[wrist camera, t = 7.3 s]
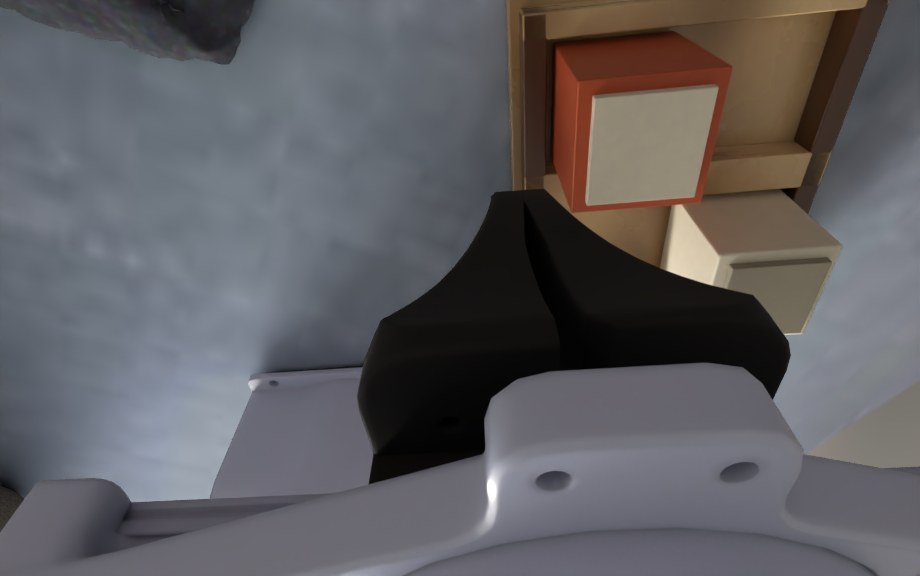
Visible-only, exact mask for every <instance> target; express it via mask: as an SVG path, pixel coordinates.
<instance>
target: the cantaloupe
mask: <svg viewBox="0 0 920 576" xmlns="http://www.w3.org/2000/svg"><path fill="white" fill-rule="evenodd" d="M23 500H24V498H23V497H22V496H20V495H19V494H18V493H16V492H15V491H13V490H10V489H8V488H4V487H1V486H0V532H1V531H2V529H3V528H4V527H5V525H6V524H7V522H8V521H9V520H10V518H11V517H12V516H13V514H14V513H15V511H16V510H17V509H18V507H19V506H20V505H21V503H22V502H23Z"/></svg>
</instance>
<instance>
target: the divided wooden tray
mask: <svg viewBox="0 0 920 576" xmlns="http://www.w3.org/2000/svg"><path fill="white" fill-rule="evenodd" d="M889 3H890V0H506V17H507V50H508V83H509V116H510V149H511V182H512V191H518V190H531V189H545V190H546V191H547V192H548V193H549V194H550V195H552V196H553V197H554V198H555V199H556V200H557V201H558V202H559V203H560V204H561V205H562V206H563V207H564V208H565V209H566V210H567V211H568V212H570V213H571V211H570V208H569V205H568V202H567V200H566V197H565V194H564V191H563V188H562V186H561V183H560V180H559V177H558V174H557V172H556V169H555V166H554V163H553V160H552V158H551V109H552V63H553V43H555V42H565V41H575V40H585V39H595V38H605V37H615V36H625V35H636V34H646V33H656V32H666V31H675V32H677V33H678V34H680V35H682V36H683V37H685V38H687V39H688V40H690V41H692V42H693V43H695V44H697V45H698V46H700V47H702V48H703V49H705V50H707V51H708V52H710V53H712V54H713V55H715V56H717V57H718V58H720V59H722V60H723V61H725V62H727V63H728V64H730V65H732V66H733V69H732V73H731V77H730V82H729V86H728V90H727V95H726V99H725V103H724V108H723V112H722V116H721V120H720V125H719V129H718V133H717V138H716V142H715V146H714V151H713V155H712V159H711V164H710V168H709V172H708V176H707V181H706V185H705V189H704V194H703V195H709V194H721V193H734V192H746V191H758V190H771V189H780V190H781V191H783V192H784V193H785V194H786V195H787V196H788V197H789V198H790V199H791V200H793V201H794V202H795V203H796V204H797V205H798V206H799V207H800V208H801V209H803V210H804V211H805V212H806V213H807V214H808V212H809V209H810V207H811V204H812V201H813V199H814V196H815V194H816V191H817V189H818V186H819V184H820V182H821V179H822V177H823V174H824V171H825V169H826V166H827V164H828V161H829V158H830V156H831V153H832V150H833V147H834V144H835V142H836V139H837V137H838V134H839V131H840V129H841V126H842V124H843V121H844V119H845V116H846V113H847V111H848V108H849V106H850V103H851V100H852V98H853V95H854V93H855V90H856V87H857V85H858V82H859V80H860V77H861V74H862V72H863V69H864V67H865V64H866V61H867V59H868V56H869V54H870V51H871V49H872V46H873V43H874V41H875V38H876V36H877V33H878V30H879V28H880V25H881V23H882V20H883V17H884V15H885V12H886V10H887V7H888V4H889ZM671 206H672V205H668V206H656V207H643V208H631V209H618V210H606V211H593V212H581V213H571V214H572V215H573V216H574V217H575V218H577V219H578V220H579V221H580V222H581V223H583V224H584V225H585V226H587V227H588V228H589V229H591V230H592V231H593V232H595V233H596V234H598V235H599V236H600V237H602V238H603V239H605V240H606V241H608V242H609V243H611V244H613V245H614V246H616V247H618V248H620V249H622V250H623V251H625V252H627V253H629V254H630V255H632V256H634V257H636V258H639V259H641V260H643V261H645V262H647V263H650V264H652V265H654V266H656V267H659V268H660V264H661V259H662V253H663V248H664V243H665V238H666V233H667V227H668V222H669V217H670V212H671Z"/></svg>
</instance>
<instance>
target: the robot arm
mask: <svg viewBox="0 0 920 576" xmlns="http://www.w3.org/2000/svg"><path fill="white" fill-rule="evenodd" d="M790 356H791V355H790V348H789V342H788V340H787V339H786V337H785V336H784V334H783V333H782V332H781V330H780V329H779V327H778V326H777V324H776V323H775V322H774V320H773V319H772V317H771V316H770V314H769V313H768V312H767V311H766V309H765V308H764V307H763V306H762V304H761V303H760V302H759V301H758V300H757V299H756V298H755V297H754V295H751V294H747V293H742V292H738V291H734V290H730V289H725V288H721V287H717V286H713V285H709V284H705V283H702V282H698V281H695V280H692V279H689V278H686V277H683V276H680V275H677V274H674V273H672V272H669V271H666V270H664V269H661V268H659V267H656V266H654V265H652V264H650V263H647V262H645V261H643V260H641V259H639V258H636V257H634V256H632V255H630V254H629V253H627V252H625V251H623V250H622V249H620V248H618V247H616V246H614V245H613V244H611V243H609V242H608V241H606V240H605V239H603V238H602V237H600V236H599V235H598V234H596V233H595V232H593V231H592V230H591V229H589V228H588V227H587V226H585V225H584V224H583V223H581V222H580V221H579V220H578V219H577V218H575V217H574V216H573V215H572V214H571V213H570V212H568V211H567V210H566V209H565V208H564V207H563V206H562V205H561V204H560V203H559V202H558V201H557V200H556V199H555V198H554V197H553V196H552V195H550V194H549V193H548V192H547V191H546V190H545V189H531V190H518V191H505V192H495V193H494V194H493V195H492V196H491V202H490V206H489V209H488V212H487V214H486V217H485V219H484V221H483V223H482V225H481V227H480V229H479V231H478V233H477V235H476V236H475V238H474V240H473V241H472V243H471V245H470V246H469V248H468V249H467V251H466V252H465V253H464V255H463V256H462V257H461V259H460V260H459V261H458V262H457V264H456V265H455V266H454V267H453V268H452V270H451V271H450V272H449V273H448V274H447V275H446V276H445V277H444V278H443V279H442V280H441V281H440V282H439V283H438V284H437V285H435V286H434V287H433V288H432V289H430V290H429V291H428V292H427V293H425V294H424V295H422V296H421V297H419V298H418V299H417V300H415V301H414V302H412V303H411V304H409V305H407V306H405V307H404V308H402V309H400V310H398V311H397V312H395V313H393V314H391V315H390V316H388V317H386V318H384V319H382V320H381V321H380V323H379V325H378V327H377V330H376V332H375V334H374V337H373V339H372V341H371V344H370V347H369V349H368V352H367V354H366V357H365V361H364V364H363V367H357V368H342V369H326V370H311V371H295V372H279V373H264V374H254V375H252V376H250V379H249V381H248V385H249V387H250V388H251V390H252V394H251V396H250V399H249V401H248V403H247V406H246V408H245V411H244V413H243V415H242V418H241V420H240V422H239V425H238V427H237V429H236V432H235V434H234V437H233V439H232V441H231V444H230V446H229V448H228V451H227V453H226V455H225V458H224V460H223V462H222V465H221V467H220V470H219V472H218V474H217V477H216V479H215V482H214V485H213V488H212V492H211V495H210V499H197V500H175V501H153V502H131V501H130V499H129V498H128V496H127V495H126V493H125V492H124V491H123V490H122V489H121V488H120V487H119V486H118V485H116V484H115V483H113V482H111V481H108V480H105V479H97V478H86V479H65V480H44V481H40V482H37V483H36V484H35V485H34V487H33V488H32V489H31V491H30V492H29V494H28V495H27V496H26V498H25V499H24V500H23V502H22V503H21V505H20V506H19V507H18V509H17V510H16V511H15V513H14V514H13V516H12V517H11V518H10V520H9V521H8V522H7V524H6V525H5V527H4V528H3V529H2V531H1V532H0V576H920V467H901V468H877V467H872V466H866V465H860V464H855V463H850V462H844V461H839V460H833V459H827V458H822V457H816V456H811V455H805V454H803V448H802V446H801V445H800V443H799V442H798V440H797V438H796V437H795V435H794V434H793V432H792V430H791V429H790V427H789V426H788V424H787V422H786V421H785V419H784V418H783V416H782V414H781V413H780V411H779V410H778V408H777V406H776V405H775V403H774V402H773V398H774V396H775V394H776V392H777V390H778V388H779V385H780V383H781V381H782V379H783V377H784V375H785V373H786V370H787V367H788V363H789V360H790Z"/></svg>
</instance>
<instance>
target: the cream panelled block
mask: <svg viewBox="0 0 920 576" xmlns="http://www.w3.org/2000/svg"><path fill="white" fill-rule="evenodd" d="M841 249H842V244H840V243H839V242H838V241H837V240H836V239H835V238H834V237H833V236H832V235H830V234H829V233H828V232H827V231H826V230H825V229H824V228H823V227H822V226H820V225H819V224H818V223H817V222H816V221H815V220H814V219H813V218H812V217H810V216H809V215H808V214H807V213H806V212H805V211H804V210H803V209H801V208H800V207H799V206H798V205H797V204H796V203H795V202H794V201H793V200H791V199H790V198H789V197H788V196H787V195H786V194H785V193H784V192H783V191H781V190H780V189H771V190H758V191H746V192H734V193H721V194H709V195H703V198H702V202H701V203H693V204H681V205H672V206H671V212H670V217H669V222H668V227H667V233H666V238H665V243H664V248H663V253H662V259H661V264H660V268H661V269H664V270H666V271H669V272H672V273H674V274H677V275H680V276H683V277H686V278H689V279H692V280H695V281H698V282H702V283H705V284H709V285H713V286H717V287H721V288H725V289H730V290H734V291H738V292H742V293H747V294H751V295H754V297H755V298H756V299H757V300H758V301H759V302H760V303H761V304H762V306H763V307H764V308H765V309H766V311H767V312H768V313H769V314H770V316H771V317H772V319H773V320H774V322H775V323H776V324H777V326H778V327H779V329H780V330H781V332H782V333H783V334H784V335H791V334H802V333H804V331H805V328H806V326H807V324H808V322H809V320H810V317H811V315H812V313H813V311H814V309H815V306H816V304H817V302H818V300H819V298H820V296H821V293H822V291H823V289H824V287H825V285H826V282H827V280H828V278H829V276H830V274H831V271H832V269H833V267H834V265H835V263H836V260H837V258H838V256H839V254H840V252H841Z"/></svg>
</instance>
